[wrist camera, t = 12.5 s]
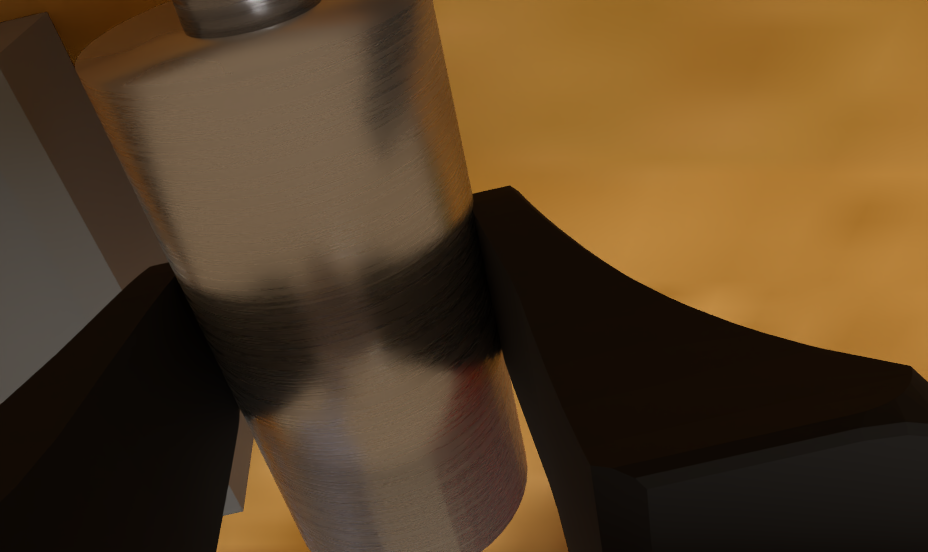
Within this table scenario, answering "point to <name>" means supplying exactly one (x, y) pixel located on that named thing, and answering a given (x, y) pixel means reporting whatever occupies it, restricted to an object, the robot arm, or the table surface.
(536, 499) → the table surface
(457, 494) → the silver cell
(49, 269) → the bin
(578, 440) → the robot arm
